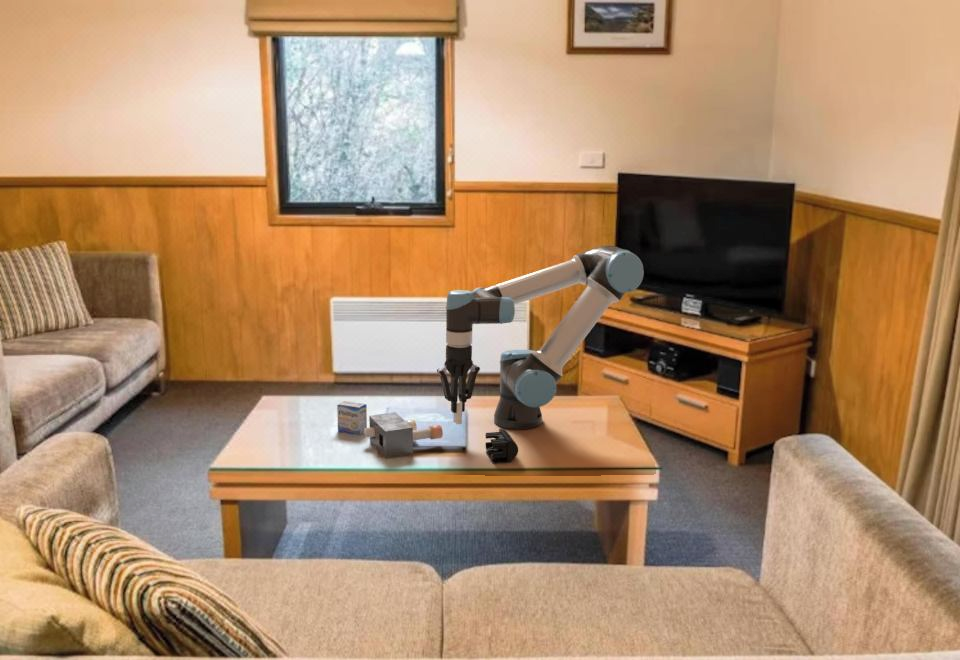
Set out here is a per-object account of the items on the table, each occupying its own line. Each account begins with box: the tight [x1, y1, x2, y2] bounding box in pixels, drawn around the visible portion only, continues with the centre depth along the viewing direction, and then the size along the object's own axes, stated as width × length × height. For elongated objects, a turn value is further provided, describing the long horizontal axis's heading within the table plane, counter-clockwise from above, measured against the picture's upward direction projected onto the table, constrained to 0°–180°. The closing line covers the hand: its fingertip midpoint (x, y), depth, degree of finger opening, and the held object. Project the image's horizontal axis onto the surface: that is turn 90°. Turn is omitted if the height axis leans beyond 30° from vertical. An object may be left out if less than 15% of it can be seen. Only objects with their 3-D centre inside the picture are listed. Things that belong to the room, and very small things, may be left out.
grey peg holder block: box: [368, 411, 414, 459], centre depth 246 cm, size 8×14×8 cm, turn 25°
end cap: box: [485, 428, 519, 465], centre depth 240 cm, size 10×7×7 cm
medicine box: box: [336, 400, 368, 436], centre depth 259 cm, size 8×4×9 cm, turn 68°
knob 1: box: [363, 419, 418, 439], centre depth 250 cm, size 15×4×4 cm, turn 115°
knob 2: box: [413, 424, 444, 441], centre depth 245 cm, size 15×4×4 cm, turn 115°
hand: (457, 422), depth 251 cm, fingers closed
